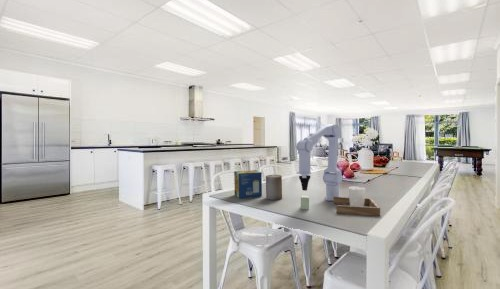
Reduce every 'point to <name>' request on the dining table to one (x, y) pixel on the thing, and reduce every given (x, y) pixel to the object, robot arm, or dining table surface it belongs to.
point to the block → (304, 202)
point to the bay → (356, 207)
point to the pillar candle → (274, 187)
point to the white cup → (357, 196)
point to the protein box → (248, 183)
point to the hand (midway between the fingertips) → (304, 189)
